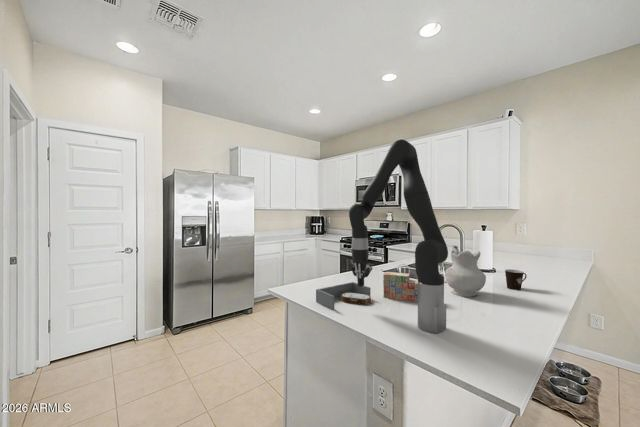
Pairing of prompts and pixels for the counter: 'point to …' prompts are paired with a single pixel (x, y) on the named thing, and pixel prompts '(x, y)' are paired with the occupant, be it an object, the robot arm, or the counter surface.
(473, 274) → the ceramic pitcher
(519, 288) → the coffee mug
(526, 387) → the counter surface
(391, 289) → the stack of blocks
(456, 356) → the counter surface
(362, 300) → the digital alarm clock
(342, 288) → the box
